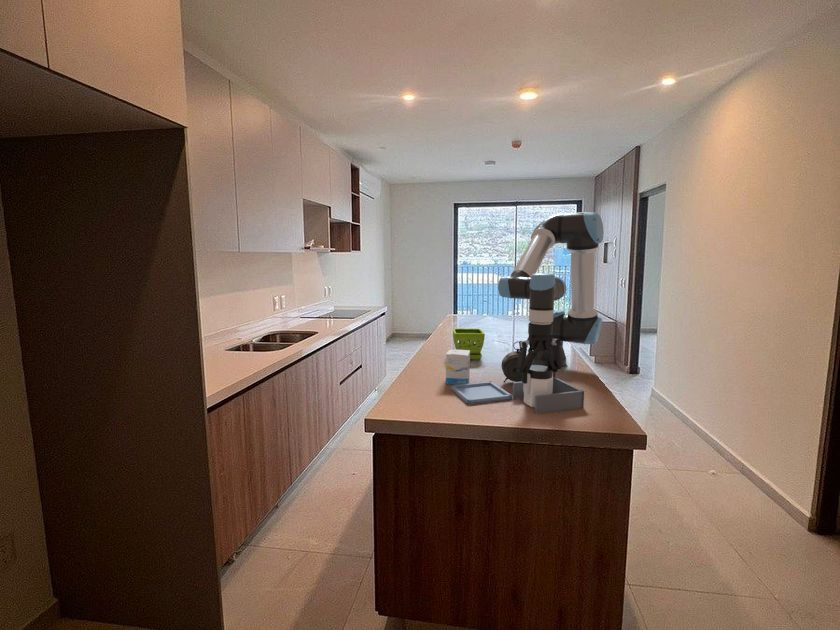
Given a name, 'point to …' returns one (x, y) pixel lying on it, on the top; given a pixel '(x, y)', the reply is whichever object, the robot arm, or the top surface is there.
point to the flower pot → (469, 341)
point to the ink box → (457, 367)
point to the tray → (480, 392)
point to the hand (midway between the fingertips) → (537, 391)
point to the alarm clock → (511, 366)
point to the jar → (539, 383)
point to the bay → (554, 397)
